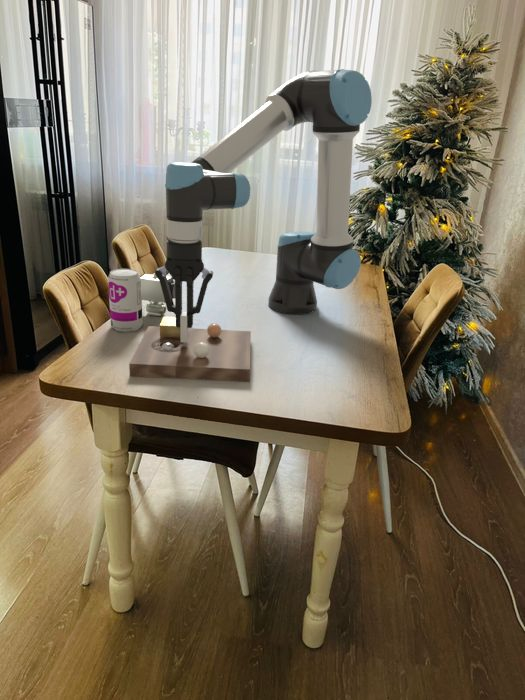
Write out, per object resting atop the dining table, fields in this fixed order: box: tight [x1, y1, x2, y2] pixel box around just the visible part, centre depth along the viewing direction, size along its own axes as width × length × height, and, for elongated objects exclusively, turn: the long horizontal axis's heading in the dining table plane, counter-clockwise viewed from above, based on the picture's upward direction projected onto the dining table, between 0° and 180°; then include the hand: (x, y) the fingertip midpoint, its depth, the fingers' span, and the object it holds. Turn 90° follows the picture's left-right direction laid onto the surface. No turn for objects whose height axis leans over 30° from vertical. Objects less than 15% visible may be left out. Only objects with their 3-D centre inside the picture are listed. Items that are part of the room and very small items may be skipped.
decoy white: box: [194, 342, 209, 358], centre depth 113 cm, size 4×4×4 cm
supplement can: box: [107, 268, 144, 333], centre depth 132 cm, size 8×8×15 cm
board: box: [128, 325, 252, 383], centre depth 120 cm, size 26×22×3 cm
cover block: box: [159, 316, 180, 338], centre depth 125 cm, size 6×6×3 cm
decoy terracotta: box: [206, 323, 222, 338], centre depth 124 cm, size 4×4×4 cm
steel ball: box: [161, 342, 175, 349], centre depth 120 cm, size 4×4×4 cm
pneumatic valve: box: [140, 272, 175, 318], centre depth 143 cm, size 6×12×12 cm, turn 78°
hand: (184, 339), depth 119 cm, fingers closed
